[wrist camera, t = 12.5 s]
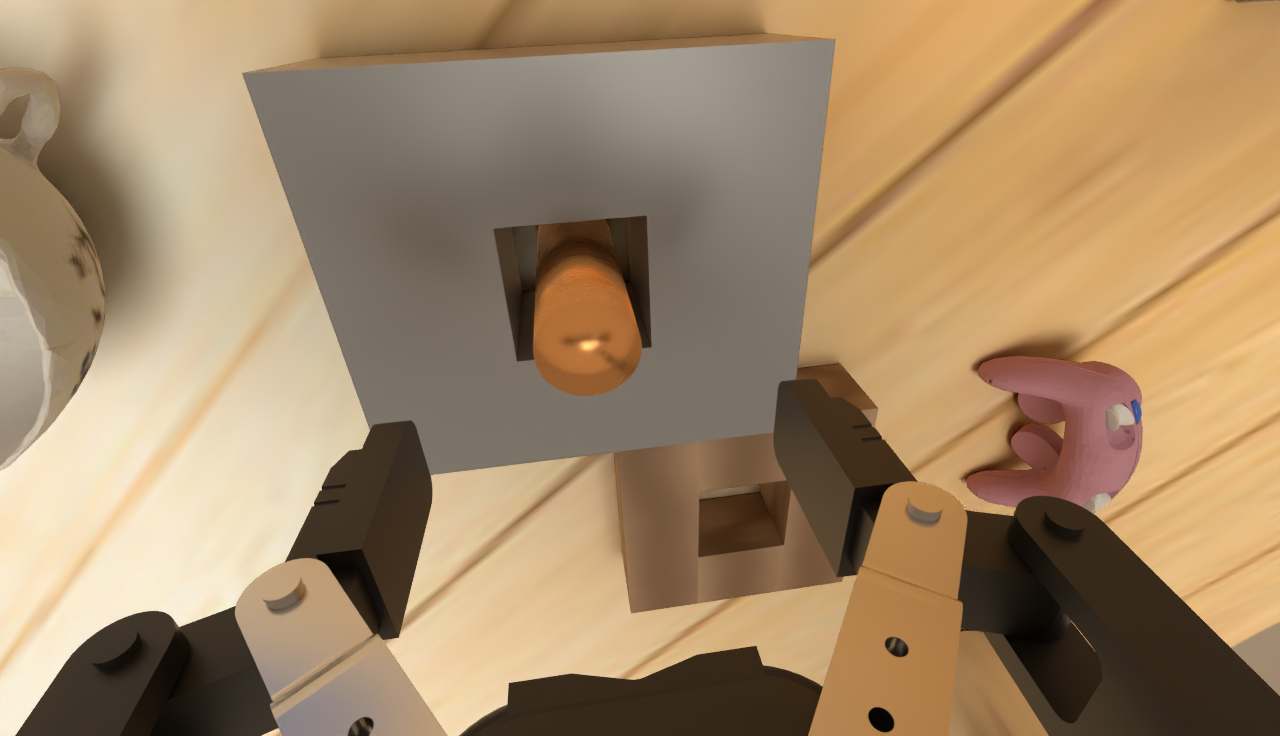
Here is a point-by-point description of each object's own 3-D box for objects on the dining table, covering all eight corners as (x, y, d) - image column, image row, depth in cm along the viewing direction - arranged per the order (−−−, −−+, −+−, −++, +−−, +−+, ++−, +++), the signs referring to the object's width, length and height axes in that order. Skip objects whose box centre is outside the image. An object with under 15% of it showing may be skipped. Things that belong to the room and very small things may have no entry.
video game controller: (1000, 455, 38) (1129, 513, 32) (958, 494, 36) (1087, 561, 31) (1019, 324, 32) (1177, 367, 27) (970, 362, 31) (1129, 416, 25)
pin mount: (840, 363, 30) (878, 408, 27) (813, 528, 36) (841, 581, 33) (608, 390, 29) (617, 439, 25) (622, 555, 35) (630, 613, 32)
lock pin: (606, 196, 24) (639, 296, 15) (611, 265, 26) (644, 390, 17) (533, 202, 24) (525, 306, 15) (542, 271, 25) (540, 401, 17)
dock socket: (766, 33, 22) (835, 39, 17) (746, 357, 29) (790, 430, 24) (318, 58, 20) (242, 73, 15) (417, 393, 27) (388, 480, 22)
